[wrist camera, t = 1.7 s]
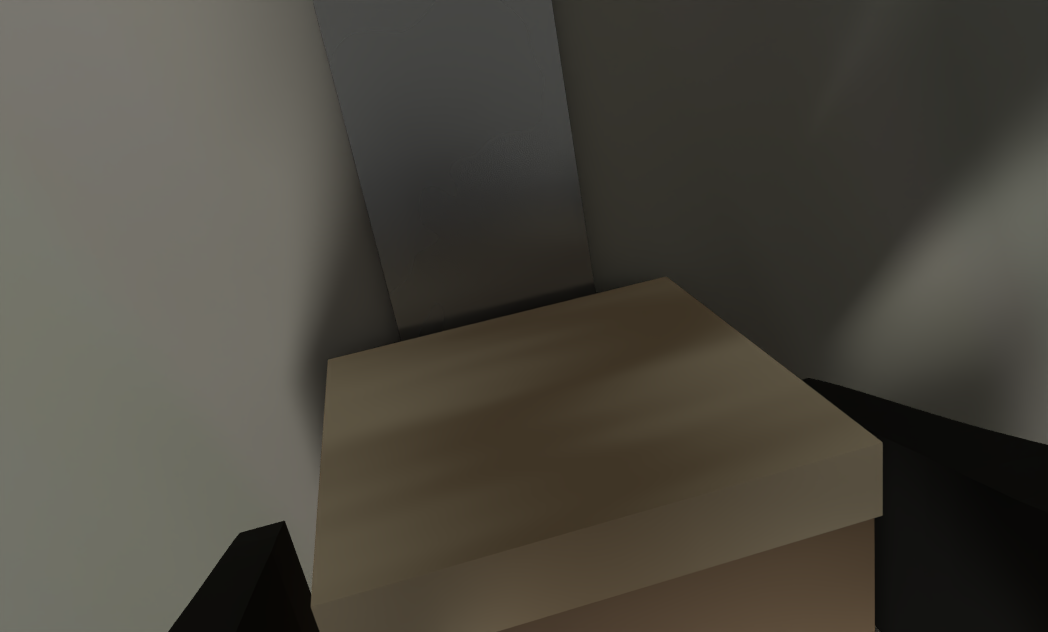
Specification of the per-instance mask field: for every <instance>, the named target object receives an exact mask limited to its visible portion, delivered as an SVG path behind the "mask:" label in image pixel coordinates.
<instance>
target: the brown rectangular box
mask: <svg viewBox="0 0 1048 632" xmlns="http://www.w3.org/2000/svg"><path fill="white" fill-rule="evenodd" d="M880 516H883V442H881V441H880V440H879V439H877V438H876V437H875V436H874V435H872V434H871V433H870V432H868V431H867V430H866V429H864V428H863V427H862V426H861V425H859V424H858V423H857V422H855V421H854V420H853V419H851V418H850V417H849V416H848V415H846V414H845V413H844V412H842V411H841V410H840V409H838V408H837V407H836V406H834V405H833V404H832V403H831V402H829V401H828V400H827V399H825V398H824V397H823V396H821V395H820V394H819V393H818V392H816V391H815V390H814V389H812V388H811V387H810V386H808V385H807V384H806V383H805V382H803V381H802V380H801V379H799V378H798V377H797V376H795V375H794V374H793V373H791V372H790V371H789V370H788V369H786V368H785V367H784V366H782V365H781V364H780V363H778V362H777V361H776V360H775V359H773V358H772V357H771V356H769V355H768V354H767V353H765V352H764V351H763V350H762V349H760V348H759V347H758V346H756V345H755V344H754V343H752V342H751V341H750V340H748V339H747V338H746V337H745V336H743V335H742V334H741V333H739V332H738V331H737V330H735V329H734V328H733V327H732V326H730V325H729V324H728V323H726V322H725V321H724V320H722V319H721V318H720V317H718V316H717V315H716V314H715V313H713V312H712V311H711V310H709V309H708V308H707V307H705V306H704V305H703V304H702V303H700V302H699V301H698V300H696V299H695V298H694V297H692V296H691V295H690V294H689V293H687V292H686V291H685V290H683V289H682V288H681V287H679V286H678V285H677V284H675V283H674V282H673V281H672V280H670V279H669V278H668V277H662V278H658V279H654V280H650V281H645V282H641V283H637V284H633V285H629V286H625V287H621V288H617V289H613V290H609V291H605V292H601V293H597V294H593V295H589V296H585V297H580V298H576V299H572V300H568V301H564V302H560V303H556V304H552V305H548V306H544V307H540V308H536V309H532V310H528V311H524V312H519V313H515V314H511V315H507V316H503V317H499V318H495V319H491V320H487V321H483V322H479V323H475V324H471V325H467V326H463V327H458V328H454V329H450V330H446V331H442V332H438V333H434V334H430V335H426V336H422V337H418V338H414V339H410V340H406V341H402V342H397V343H393V344H389V345H385V346H381V347H377V348H373V349H369V350H365V351H361V352H357V353H353V354H349V355H345V356H341V357H336V358H332V359H328V365H327V379H326V393H325V408H324V422H323V436H322V451H321V465H320V479H319V494H318V508H317V522H316V537H315V551H314V565H313V580H312V594H311V609H312V612H313V615H314V618H315V620H316V623H317V626H318V629H319V631H320V632H875V543H874V518H876V517H880Z"/></svg>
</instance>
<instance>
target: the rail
mask: <svg viewBox="0 0 1048 632" xmlns="http://www.w3.org/2000/svg"><path fill="white" fill-rule="evenodd" d="M313 4H314V8H315V11H316V15H317V19H318V23H319V27H320V31H321V34H322V38H323V42H324V46H325V50H326V54H327V57H328V61H329V65H330V69H331V73H332V77H333V81H334V84H335V88H336V92H337V96H338V100H339V104H340V107H341V111H342V115H343V119H344V123H345V127H346V130H347V134H348V138H349V142H350V146H351V150H352V153H353V157H354V161H355V165H356V169H357V173H358V177H359V180H360V184H361V188H362V192H363V196H364V200H365V203H366V207H367V211H368V215H369V219H370V223H371V226H372V230H373V234H374V238H375V242H376V246H377V250H378V253H379V257H380V261H381V265H382V269H383V273H384V276H385V280H386V284H387V288H388V292H389V296H390V299H391V303H392V307H393V311H394V315H395V319H396V323H397V326H398V330H399V334H400V338H401V342H402V341H406V340H410V339H414V338H418V337H422V336H426V335H430V334H434V333H438V332H442V331H446V330H450V329H454V328H458V327H463V326H467V325H471V324H475V323H479V322H483V321H487V320H491V319H495V318H499V317H503V316H507V315H511V314H515V313H519V312H524V311H528V310H532V309H536V308H540V307H544V306H548V305H552V304H556V303H560V302H564V301H568V300H572V299H576V298H580V297H585V296H589V295H593V294H596V292H595V285H594V279H593V272H592V265H591V259H590V252H589V245H588V239H587V232H586V225H585V219H584V212H583V206H582V199H581V192H580V186H579V179H578V172H577V166H576V159H575V153H574V146H573V139H572V133H571V126H570V119H569V113H568V106H567V100H566V93H565V86H564V80H563V73H562V66H561V60H560V53H559V47H558V40H557V33H556V27H555V20H554V13H553V7H552V0H313Z"/></svg>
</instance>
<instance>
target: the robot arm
mask: <svg viewBox="0 0 1048 632" xmlns="http://www.w3.org/2000/svg"><path fill="white" fill-rule="evenodd" d="M802 381H803V382H805V383H806V384H807V385H808V386H810V387H811V388H812V389H814V390H815V391H816V392H818V393H819V394H820V395H821V396H823V397H824V398H825V399H827V400H828V401H829V402H831V403H832V404H833V405H834V406H836V407H837V408H838V409H840V410H841V411H842V412H844V413H845V414H846V415H848V416H849V417H850V418H851V419H853V420H854V421H855V422H857V423H858V424H859V425H861V426H862V427H863V428H864V429H866V430H867V431H868V432H870V433H871V434H872V435H874V436H875V437H876V438H877V439H879V440H880V441H881V442H883V516H880V517H876V518H874V543H875V626H876V627H877V628H878V629H879V630H880V631H881V632H1048V445H1046V444H1042V443H1037V442H1033V441H1029V440H1026V439H1022V438H1018V437H1014V436H1010V435H1006V434H1002V433H998V432H994V431H990V430H986V429H983V428H979V427H976V426H972V425H969V424H965V423H961V422H958V421H955V420H951V419H948V418H944V417H941V416H938V415H934V414H931V413H928V412H924V411H921V410H918V409H915V408H911V407H908V406H905V405H902V404H898V403H895V402H892V401H889V400H885V399H882V398H879V397H876V396H873V395H869V394H866V393H863V392H860V391H856V390H853V389H849V388H846V387H843V386H839V385H835V384H832V383H828V382H824V381H820V380H815V379H810V378H807V379H803V380H802ZM168 632H320V631H319V629H318V626H317V623H316V620H315V618H314V615H313V612H312V609H311V593H310V590H309V587H308V584H307V581H306V579H305V576H304V573H303V570H302V567H301V565H300V562H299V559H298V556H297V554H296V551H295V548H294V545H293V542H292V540H291V537H290V534H289V531H288V528H287V526H286V523H285V521H282V522H278V523H274V524H271V525H267V526H263V527H259V528H256V529H252V530H248V531H245V532H241V533H239V535H238V536H237V537H236V538H235V540H234V541H233V542H232V544H231V545H230V546H229V548H228V549H227V551H226V552H225V553H224V555H223V556H222V558H221V559H220V560H219V562H218V563H217V565H216V566H215V568H214V569H213V570H212V572H211V573H210V575H209V576H208V578H207V579H206V580H205V582H204V583H203V585H202V586H201V587H200V589H199V590H198V592H197V593H196V595H195V596H194V597H193V599H192V600H191V601H190V603H189V604H188V605H187V607H186V608H185V610H184V611H183V612H182V614H181V615H180V616H179V618H178V619H177V621H176V622H175V623H174V625H173V626H172V627H171V629H170V630H169V631H168Z"/></svg>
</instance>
